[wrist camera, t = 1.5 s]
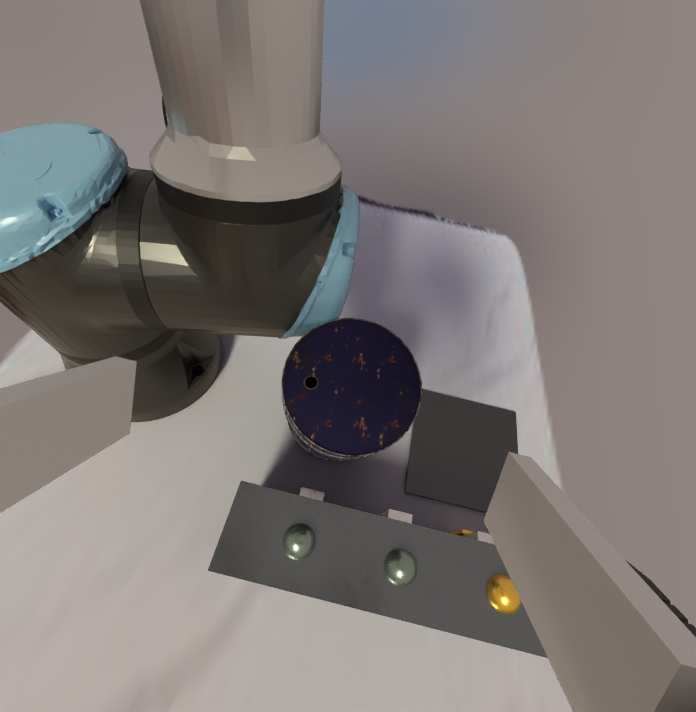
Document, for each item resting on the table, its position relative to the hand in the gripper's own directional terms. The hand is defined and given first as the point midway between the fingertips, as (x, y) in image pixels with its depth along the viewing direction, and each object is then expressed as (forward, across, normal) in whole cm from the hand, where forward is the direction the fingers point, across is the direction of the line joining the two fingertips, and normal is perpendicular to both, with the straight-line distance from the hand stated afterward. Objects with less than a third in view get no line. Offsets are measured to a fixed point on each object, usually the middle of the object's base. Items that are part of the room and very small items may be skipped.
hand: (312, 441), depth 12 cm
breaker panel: (+22, +8, -13) cm, 26 cm away
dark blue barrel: (+24, 0, -9) cm, 26 cm away
